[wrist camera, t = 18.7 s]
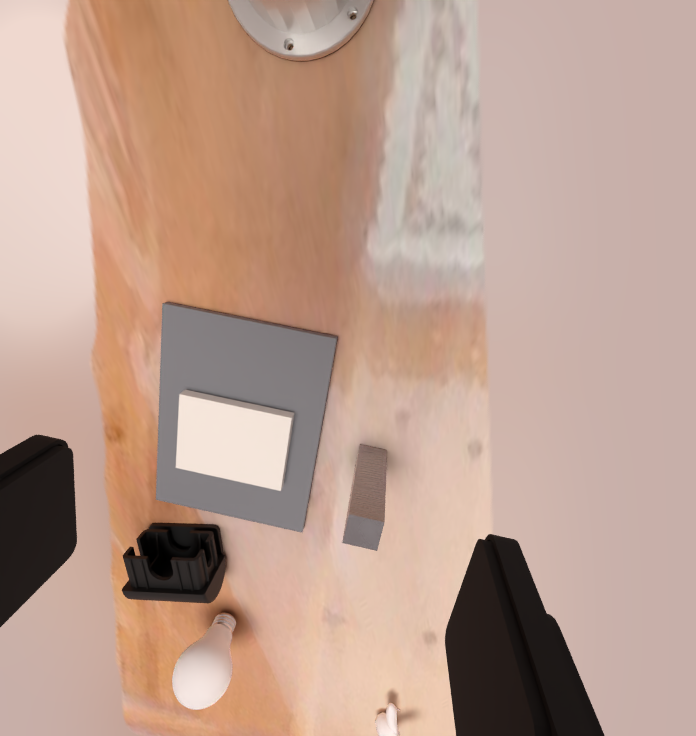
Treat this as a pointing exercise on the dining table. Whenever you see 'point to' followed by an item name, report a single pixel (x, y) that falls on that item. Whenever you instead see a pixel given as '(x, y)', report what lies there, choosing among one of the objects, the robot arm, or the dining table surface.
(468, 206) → the dining table surface
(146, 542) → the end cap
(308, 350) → the mat
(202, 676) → the light bulb
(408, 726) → the dining table surface
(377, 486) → the metal bar
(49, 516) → the robot arm
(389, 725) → the rabbit figurine
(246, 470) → the tile
